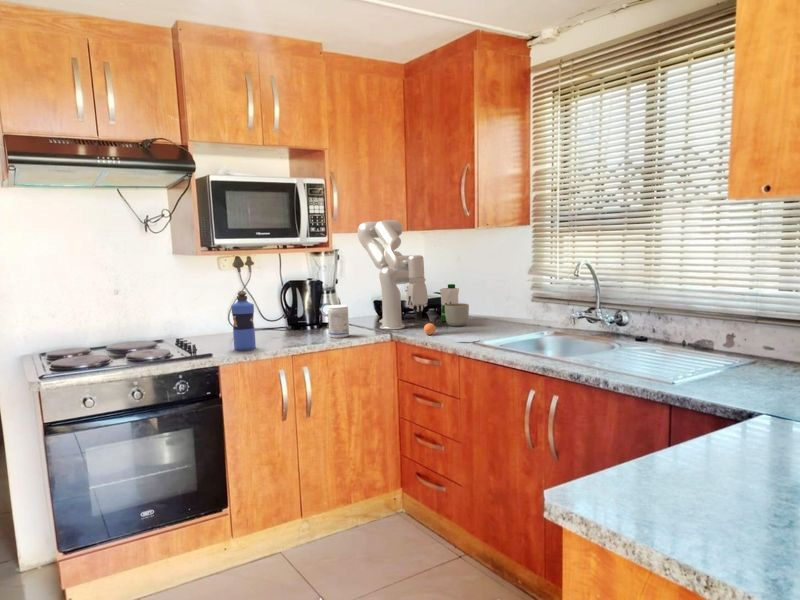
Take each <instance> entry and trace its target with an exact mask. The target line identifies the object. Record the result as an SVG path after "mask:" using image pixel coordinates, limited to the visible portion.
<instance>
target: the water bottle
mask: <svg viewBox="0 0 800 600" xmlns="http://www.w3.org/2000/svg"><path fill="white" fill-rule="evenodd" d="M236 300H237V301H236V302H235V303H233V304H231V307H230V309H231V314H232V315H231V316H232V320H233V327H232V328H233V329H232V330H233V331H232V335H233V350H234V351H239V352H240V351H242V352H243V351H252V350H255V349H256V347H257V346H256V345H257V343H256V330H255V329H256V328H255V324H254V323H255V322H254V315H255V314H254V313H255V305H254V303H252V302H250V301H248V295H247V292H246V291H244V290H240V291H238V292H237V296H236Z"/></svg>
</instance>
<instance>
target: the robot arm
mask: <svg viewBox="0 0 800 600" xmlns="http://www.w3.org/2000/svg"><path fill="white" fill-rule="evenodd" d="M402 234H403V225H402V223H401V222H400V221H399V220H395V219H386V220H384V219H383V220H380V221H364V222H362V223H360V224H359V225H358V228H357V237H358V241H359V242H360V244H361V246H362V247H363V248H364V249H365V251H366V252H367V253H368V256H369V257H370V259H371V261H372V262H373V265H374V266H375V268H377V269H378V270H380V271H379V273H378V277H379V282H380V287H381V304H382V305H381V306H382V310H381V311H382V318H381V319H380V320H379V323H380V324H381V325H379V329H381V330H400V329H404V328H405V324H402V307H401V306H402V305H401V304H402V301H401V300H402V299H401V298H402V297H401V291H400V289H399V287H398V285H407V288H406V304H407V306H408V308H409V309H412V310H413V311H414V319H415V320H418V321H421V320H423V310H424V308H425V307H427V306H428V302H429V301H428V297H429V296H428V289H427V285H426V283H425V282H426V280H427V279H426V278H425V260H424V256H423V255H420V254H418V255H417V254H415V255H413V254H412V255H411V254H409V255H403V254H402V253H401V252H400V251H397V249H398V248H399V247H400V246H401V244H402V240H401V237H400V236H401V235H402ZM377 239H380V241H381V242H382V243H381V242H380V241H379V240H377ZM383 245H384V246H383ZM384 247H385V248H384Z"/></svg>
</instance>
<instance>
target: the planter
mask: <svg viewBox="0 0 800 600" xmlns="http://www.w3.org/2000/svg"><path fill="white" fill-rule="evenodd" d="M469 311H470V305H469V303H463V302H462V303H459V302H458V303H453V304H446V305H445V316H446V322H445V323H446V324H448V325H449V326H451V327H464V326H465V325H467V324H468V321H469ZM463 325H464V326H463Z"/></svg>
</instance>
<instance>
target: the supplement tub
mask: <svg viewBox="0 0 800 600" xmlns="http://www.w3.org/2000/svg"><path fill="white" fill-rule="evenodd" d="M327 316H328V317H327V318H328V336H329V337H330V338H332V339H334V338H335V339H340V338H341V339H342V338H346V337H348V336H349V335H350V330H349V329H350V326H349V306H348V305H347V304H333V305H328V307H327Z"/></svg>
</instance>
